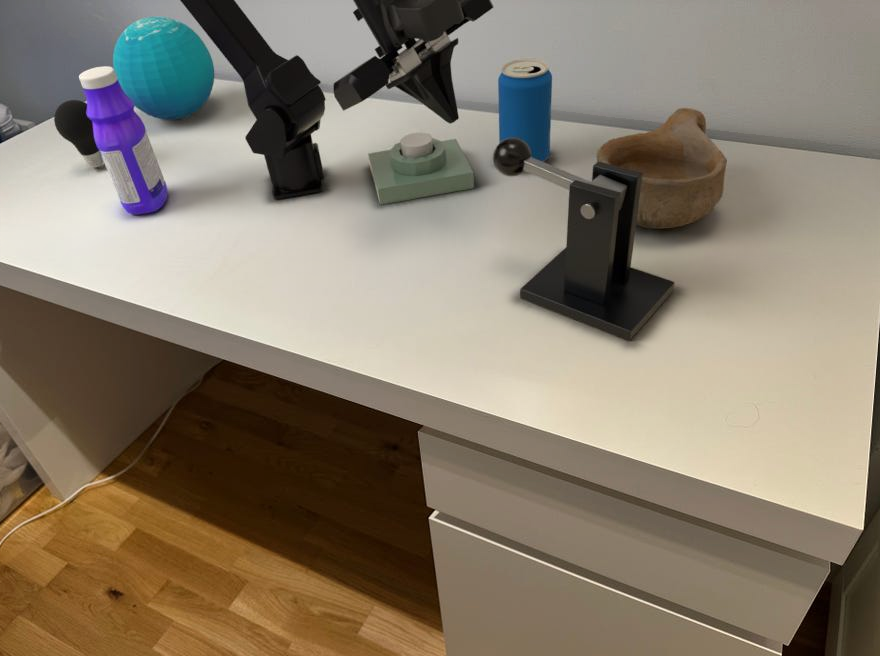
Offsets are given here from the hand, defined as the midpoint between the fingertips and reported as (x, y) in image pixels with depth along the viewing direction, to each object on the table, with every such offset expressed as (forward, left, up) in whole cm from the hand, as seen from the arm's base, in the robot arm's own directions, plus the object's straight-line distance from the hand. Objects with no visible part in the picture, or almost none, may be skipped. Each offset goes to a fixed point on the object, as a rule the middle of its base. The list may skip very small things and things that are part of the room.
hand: (454, 121), depth 76 cm
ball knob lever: (+6, -15, -2) cm, 17 cm away
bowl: (+22, -5, -12) cm, 26 cm away
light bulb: (-48, +31, -12) cm, 58 cm away
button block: (-3, +11, -12) cm, 16 cm away
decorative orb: (-37, +46, -12) cm, 60 cm away
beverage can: (+11, +11, -12) cm, 19 cm away
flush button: (-3, +11, -8) cm, 14 cm away
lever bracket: (+10, -19, -12) cm, 25 cm away
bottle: (-39, +17, -12) cm, 44 cm away
